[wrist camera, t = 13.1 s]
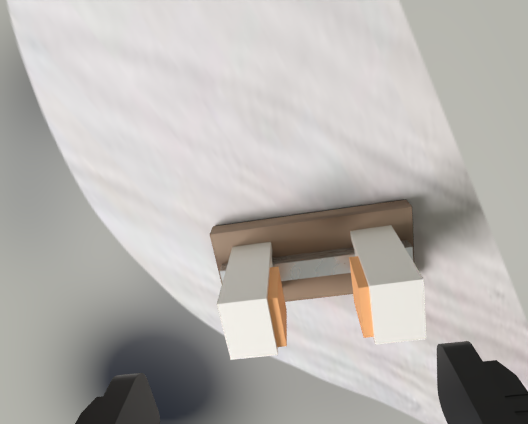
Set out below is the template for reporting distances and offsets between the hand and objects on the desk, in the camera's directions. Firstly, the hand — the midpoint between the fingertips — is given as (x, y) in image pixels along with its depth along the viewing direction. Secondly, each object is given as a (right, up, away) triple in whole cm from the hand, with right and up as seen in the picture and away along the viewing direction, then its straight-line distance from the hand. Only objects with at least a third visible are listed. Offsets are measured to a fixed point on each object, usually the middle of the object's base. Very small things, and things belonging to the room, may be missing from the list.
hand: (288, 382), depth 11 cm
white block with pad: (+10, 0, +30) cm, 31 cm away
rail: (+5, 0, +32) cm, 32 cm away
